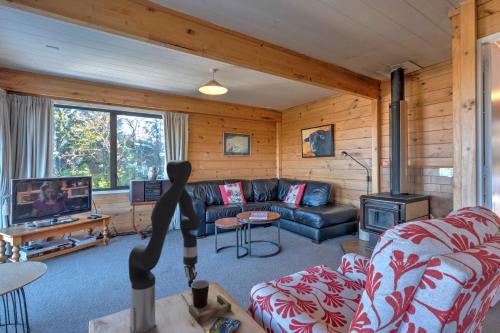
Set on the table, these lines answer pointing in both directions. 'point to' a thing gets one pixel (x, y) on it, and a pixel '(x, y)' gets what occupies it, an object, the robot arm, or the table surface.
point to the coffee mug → (200, 293)
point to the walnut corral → (211, 310)
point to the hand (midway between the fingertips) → (190, 286)
